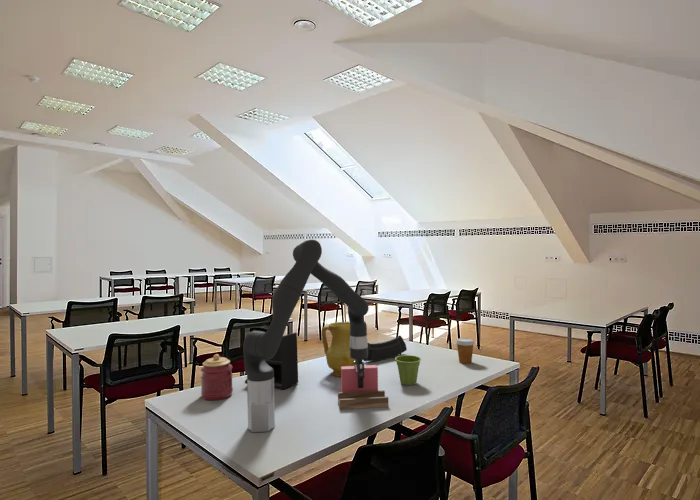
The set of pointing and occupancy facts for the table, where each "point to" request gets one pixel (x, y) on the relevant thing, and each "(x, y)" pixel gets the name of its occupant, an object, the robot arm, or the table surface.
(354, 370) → the book
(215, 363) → the canister
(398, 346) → the magazine
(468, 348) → the disposable coffee cup
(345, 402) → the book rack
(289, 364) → the bookend
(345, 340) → the pitcher
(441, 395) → the table surface
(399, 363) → the plant pot
